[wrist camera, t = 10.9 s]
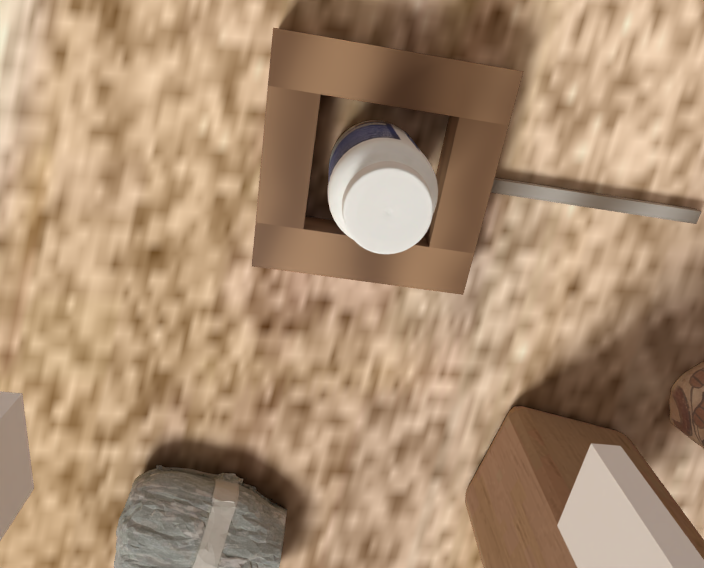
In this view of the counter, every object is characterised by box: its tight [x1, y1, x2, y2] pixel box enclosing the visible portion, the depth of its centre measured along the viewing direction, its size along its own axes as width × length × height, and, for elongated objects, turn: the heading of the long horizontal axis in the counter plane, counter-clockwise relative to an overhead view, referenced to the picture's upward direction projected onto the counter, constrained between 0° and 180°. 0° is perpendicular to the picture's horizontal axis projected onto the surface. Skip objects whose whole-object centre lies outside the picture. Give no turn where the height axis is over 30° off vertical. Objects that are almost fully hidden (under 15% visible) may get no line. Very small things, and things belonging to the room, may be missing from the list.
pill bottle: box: [328, 120, 438, 254], centre depth 28 cm, size 5×5×10 cm
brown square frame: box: [252, 28, 701, 295], centre depth 32 cm, size 27×13×2 cm, turn 81°
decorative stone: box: [114, 465, 287, 568], centre depth 41 cm, size 13×10×6 cm
